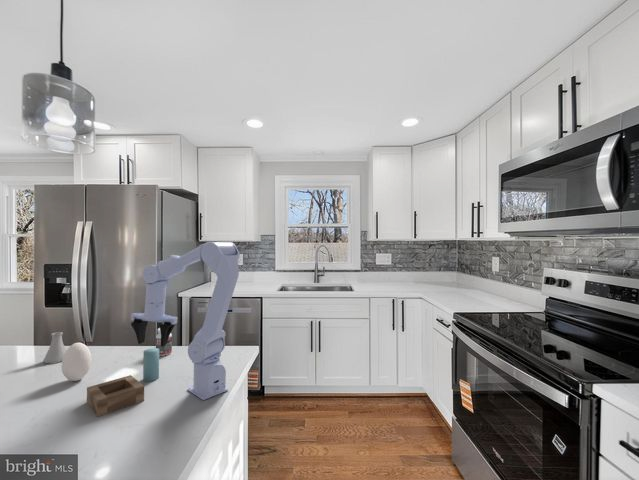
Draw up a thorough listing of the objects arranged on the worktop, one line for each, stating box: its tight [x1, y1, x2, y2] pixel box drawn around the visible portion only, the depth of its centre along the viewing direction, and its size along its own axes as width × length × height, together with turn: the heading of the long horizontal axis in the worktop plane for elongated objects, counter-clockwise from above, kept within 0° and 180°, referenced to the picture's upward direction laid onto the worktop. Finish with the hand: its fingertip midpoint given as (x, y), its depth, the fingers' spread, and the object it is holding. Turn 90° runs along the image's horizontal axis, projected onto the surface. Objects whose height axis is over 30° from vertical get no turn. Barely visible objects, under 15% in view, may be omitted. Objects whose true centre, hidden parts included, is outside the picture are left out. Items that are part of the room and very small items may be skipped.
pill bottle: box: [155, 327, 173, 357], centre depth 120 cm, size 6×6×10 cm
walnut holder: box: [86, 374, 145, 418], centre depth 84 cm, size 11×11×4 cm
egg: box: [61, 342, 92, 382], centre depth 97 cm, size 7×7×12 cm
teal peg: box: [142, 347, 160, 383], centre depth 98 cm, size 4×4×9 cm
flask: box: [42, 331, 67, 364], centre depth 113 cm, size 7×7×10 cm
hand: (152, 344), depth 99 cm, fingers open, 7 cm apart
